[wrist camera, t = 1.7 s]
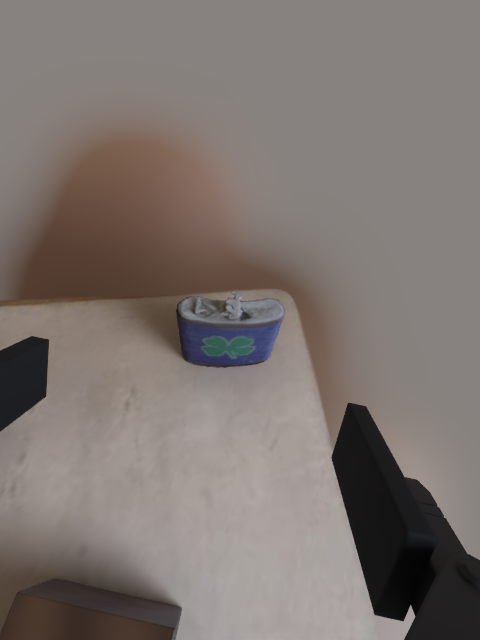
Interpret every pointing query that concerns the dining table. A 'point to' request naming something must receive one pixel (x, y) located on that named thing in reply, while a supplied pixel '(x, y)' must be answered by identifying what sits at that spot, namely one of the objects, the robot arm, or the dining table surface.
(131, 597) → the walnut block
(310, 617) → the dining table surface
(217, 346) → the flask
